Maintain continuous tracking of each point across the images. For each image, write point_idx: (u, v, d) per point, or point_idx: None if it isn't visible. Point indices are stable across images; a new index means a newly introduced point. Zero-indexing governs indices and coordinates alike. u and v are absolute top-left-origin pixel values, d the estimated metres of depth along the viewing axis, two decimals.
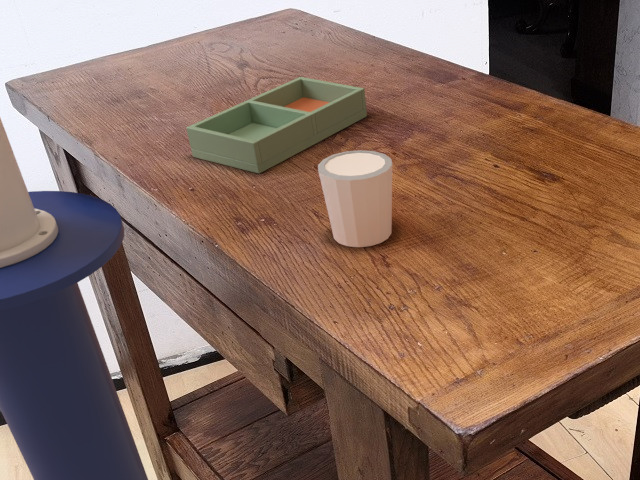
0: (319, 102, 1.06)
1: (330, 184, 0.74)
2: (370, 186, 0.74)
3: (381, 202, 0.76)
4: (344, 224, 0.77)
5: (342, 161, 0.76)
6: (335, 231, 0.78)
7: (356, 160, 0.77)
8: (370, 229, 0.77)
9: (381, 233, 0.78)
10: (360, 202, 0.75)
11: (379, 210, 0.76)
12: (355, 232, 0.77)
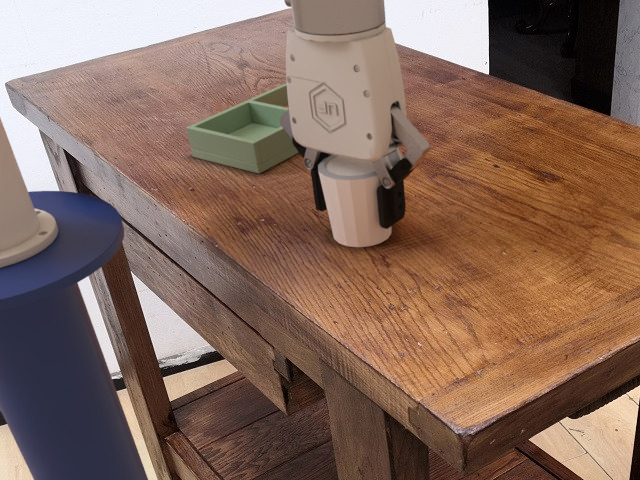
0: None
1: (330, 184, 0.74)
2: (370, 186, 0.74)
3: None
4: (344, 224, 0.77)
5: (342, 161, 0.76)
6: (336, 231, 0.78)
7: (356, 160, 0.77)
8: (370, 229, 0.77)
9: (381, 233, 0.78)
10: (360, 202, 0.75)
11: None
12: (355, 232, 0.77)
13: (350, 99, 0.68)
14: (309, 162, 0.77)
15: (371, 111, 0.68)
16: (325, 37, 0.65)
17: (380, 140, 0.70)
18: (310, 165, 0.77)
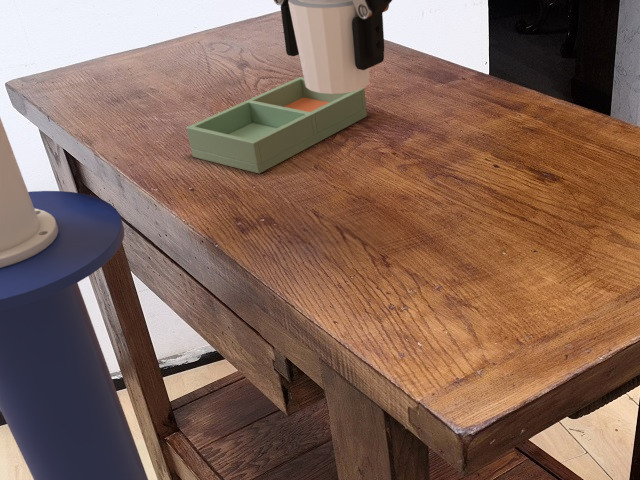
0: (319, 102, 1.06)
1: (301, 14, 0.67)
2: (345, 17, 0.67)
3: None
4: (316, 65, 0.69)
5: None
6: (307, 76, 0.71)
7: None
8: (345, 72, 0.70)
9: (357, 79, 0.71)
10: (334, 37, 0.67)
11: None
12: (328, 74, 0.69)
13: None
14: None
15: None
16: None
17: None
18: None
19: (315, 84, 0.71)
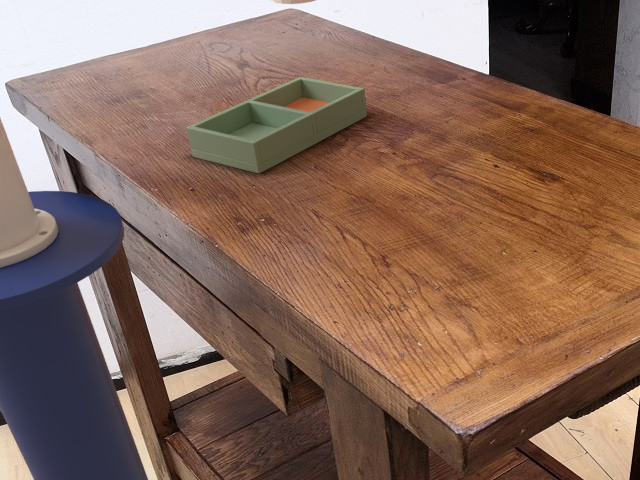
0: (319, 102, 1.06)
1: None
2: None
3: None
4: None
5: None
6: None
7: None
8: None
9: None
10: None
11: None
12: None
13: None
14: None
15: None
16: None
17: None
18: None
19: None
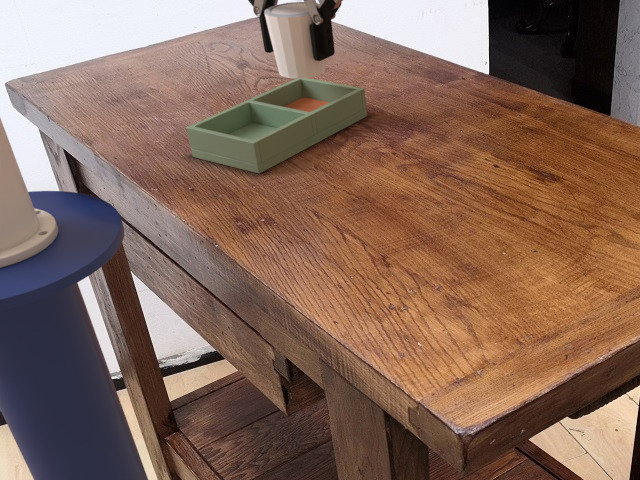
0: (319, 102, 1.06)
1: (273, 22, 0.94)
2: (304, 23, 0.94)
3: None
4: (285, 58, 0.97)
5: (284, 7, 0.96)
6: (280, 66, 0.98)
7: (295, 7, 0.96)
8: (306, 62, 0.97)
9: (316, 67, 0.98)
10: (297, 37, 0.95)
11: None
12: (294, 64, 0.97)
13: None
14: (257, 9, 0.97)
15: None
16: None
17: None
18: (259, 12, 0.97)
19: (286, 72, 0.98)
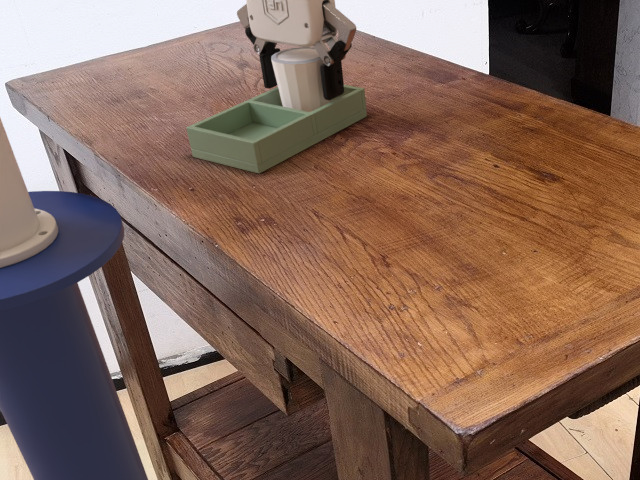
0: None
1: (280, 68, 0.97)
2: (310, 70, 0.97)
3: (320, 84, 0.99)
4: (291, 102, 1.00)
5: (290, 53, 1.00)
6: None
7: (301, 53, 1.00)
8: (312, 106, 1.00)
9: None
10: (303, 83, 0.98)
11: (318, 90, 0.99)
12: (300, 108, 1.00)
13: None
14: (258, 47, 1.00)
15: (306, 5, 0.91)
16: None
17: (314, 28, 0.93)
18: (258, 50, 1.00)
19: None
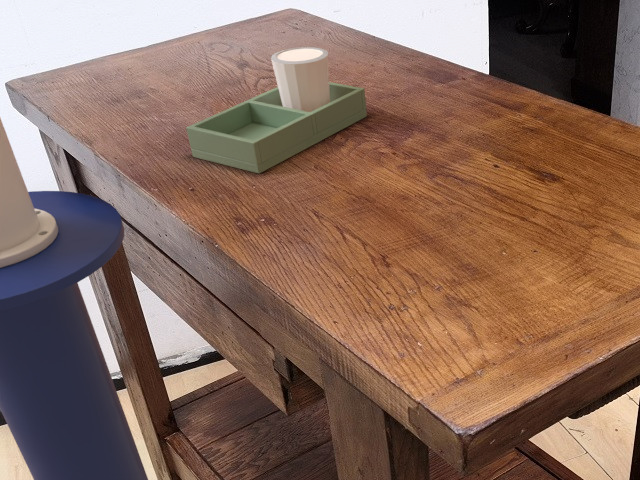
0: None
1: (280, 68, 0.97)
2: (310, 69, 0.97)
3: (320, 84, 0.99)
4: (291, 102, 1.00)
5: (290, 53, 1.00)
6: None
7: (301, 52, 1.00)
8: (312, 106, 1.00)
9: None
10: (303, 83, 0.98)
11: (318, 90, 0.99)
12: (300, 108, 1.00)
13: None
14: None
15: None
16: None
17: None
18: None
19: None
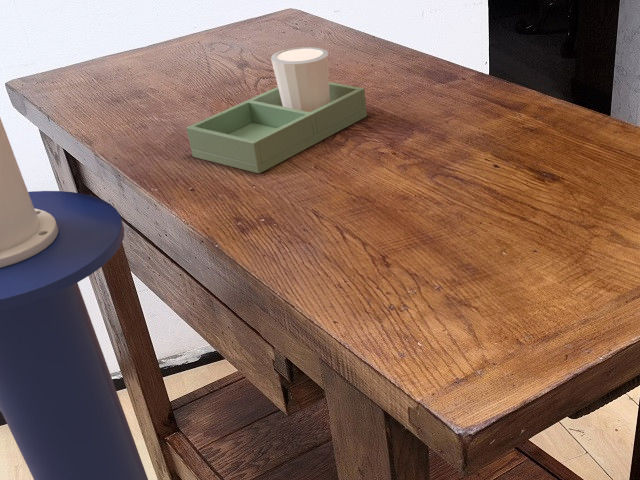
0: None
1: (280, 68, 0.97)
2: (310, 69, 0.97)
3: (320, 84, 0.99)
4: (291, 102, 1.00)
5: (290, 53, 1.00)
6: None
7: (301, 52, 1.00)
8: (312, 106, 1.00)
9: None
10: (303, 83, 0.98)
11: (318, 90, 0.99)
12: (300, 108, 1.00)
13: None
14: None
15: None
16: None
17: None
18: None
19: None
